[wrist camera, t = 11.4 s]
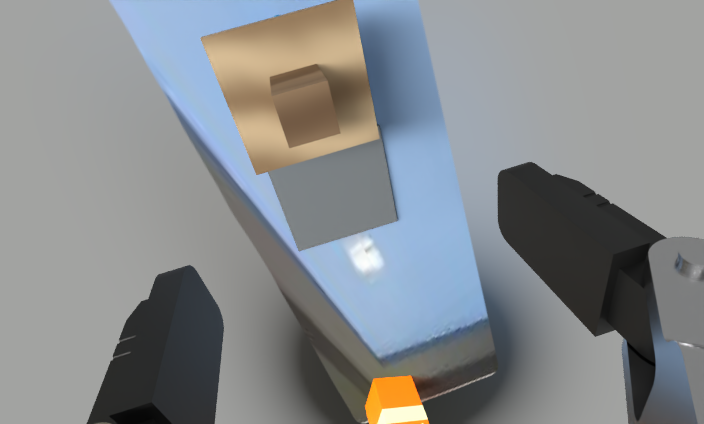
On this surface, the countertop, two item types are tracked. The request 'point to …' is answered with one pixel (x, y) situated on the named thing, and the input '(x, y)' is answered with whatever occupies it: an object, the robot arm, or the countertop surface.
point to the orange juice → (394, 402)
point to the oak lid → (296, 84)
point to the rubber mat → (336, 194)
